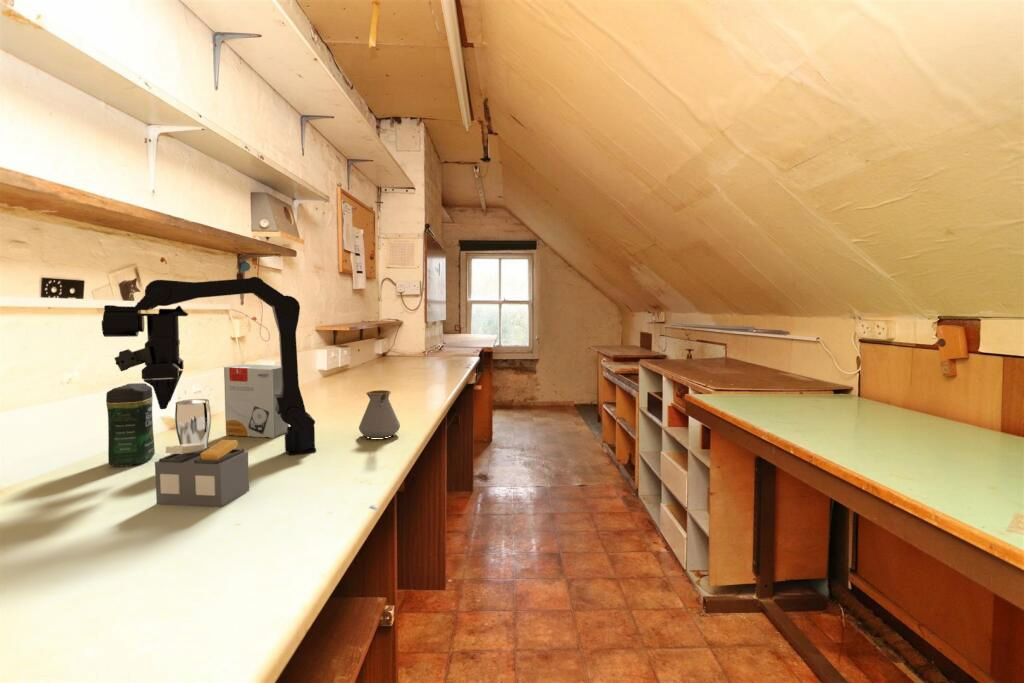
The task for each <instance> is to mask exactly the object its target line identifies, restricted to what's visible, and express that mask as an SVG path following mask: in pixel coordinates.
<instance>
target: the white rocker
mask: <svg viewBox="0 0 1024 683" xmlns="http://www.w3.org/2000/svg"><path fill="white" fill-rule="evenodd" d="M204 449H205V444H183V445H180V444H177V445H171V446H170V445H169V446H165V454H170V455H172V454H184V453H190V452H196V451H202V450H204Z"/></svg>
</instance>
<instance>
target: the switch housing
mask: <svg viewBox="0 0 1024 683" xmlns="http://www.w3.org/2000/svg"><path fill="white" fill-rule="evenodd" d="M209 448H210V447H209ZM209 448H205V449H204V450H202V451H196V452H190V453H184V454H170V455H167V456H164V457H162V458H158V459H159V460H157V461H154V473H155V474H154V475H155V494H156V498H155V499H156V504H157V505H171V506H172V505H175V506H197V507H198V506H199V507H215V506H217V508H223V507H224V506H226V505H227V504H229V503H230V502H232V501H234V500H236V499H238V498H239V497H241V496H242V494H243V495H244V494H246V493H247V491H248V492H249V491H250V480H249V478H250V475H249V474H250V473H249V451H245V449H243V448H242V449H239V448H238V449H237V448H234V449H233V450H231V451H230V452H229V453H227V454H226V455H224V456H223V457H221V458H220V459H219V460H201V453H202V452H204V451H205V450H207V449H209ZM222 506H223V507H222Z"/></svg>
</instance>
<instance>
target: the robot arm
mask: <svg viewBox="0 0 1024 683" xmlns="http://www.w3.org/2000/svg"><path fill="white" fill-rule="evenodd" d="M246 294H247V295H248V294H249V295H250V294H252V295H254V296H256V297H257V298H258V299H260V300H261V301H262V302H263V303H265V304H267V305H268V306H269V307H271V309H272V310H271V311H272V314H273V318H274V321H275V324H276V328H277V332H278V340H279V357H280V358H279V359H280V366H281V377H282V389H281V394H275V399H276V408H275V410H276V412H277V414H279V415H280V416H281V418H282V420H283V421H284V422H285V423H287V424H289V427H287V433H285V434H284V450H285V451H286V452H287V455H289V456H291V455H300V454H307V453H314V452H317V448H316V444H315V443H316V437H315V436H316V435H315V434H316V433H315V424H316V421H315V419H314V418H313V417H312V416H311V414H310V413H308V412H307V410H306V407H305V403H304V399H303V396H302V393H301V390H300V384H299V366H298V351H297V347H298V346H297V334H296V333H297V328H298V324H299V317H300V313H301V312H300V311H301V306H300V302H299V300H297V298H295V297H293V296H291V295H284V294H283V293H281V292H279V291H278V290H277V289H276V288H274V287H272V286H270V285H269V284H268V283H267V282H265V281H264V280H263V279H262V278H260V277H258V276H251V277H247V278H235V279H234V278H233V279H222V280H221V279H220V280H210V281H208V280H207V281H197V282H196V281H194V282H193V281H181V280H180V281H179V280H170V279H169V280H168V279H156V280H152V281H150V282H149V283H148V284H147V285H146V286H145V289H144V296H143V297H142V298H141V299H140V300H139V301H137V302H136V304H135V306H121V305H118V306H117V305H113V304H111V305H110V304H109V305H107V304H105V305H104V306H103V308H104V310H103V316H102V320H101V331H102V335H103V337H104V338H114V337H115V338H121V337H122V338H125V337H126V338H129V337H131V338H133V337H139V333H144V332H145V317H146V323H147V324H146V325H147V326H146V327H147V328H146V331H147V332H146V333H147V341H146V342H145V343H144V348H140V349H137V350H133V351H132V350H130V349H129V348H127V349H125V350H121V351H119V352H118V355H117V356H115V357H114V361H115V365H117V366H118V369H119V371H120V372H123V371H124V372H125V371H127V370H129V369H130V368H133V367H137V366H140V365H142V364H144V366H145V367H144V368H142V369H141V379H142V380H143V382H144V383H146V384H147V385H148V384H149V386H150V387H152V389H153V390H154V394H155V397H156V399H157V403H158V407H159V410H166V409H167V408H168V405H169V403H170V402H171V400H172V398H173V396H174V394H175V391H176V389H177V386H178V384H179V381H180V378H181V376H182V374H183V371H184V366H185V365H184V360H183V359H182V358H181V357H180V344H181V341H180V333H179V332H180V330H179V317H188V316H189V313H188V312H187V311H185V310H184V309H183V308H182V306H181V305H177V306H176V308H159V309H158V313H147V312H146V313H143V312H142V311H151V310H154V309H155V308H157V307H167V306H171V305H176V304H180V303H184V302H188V301H192V300H196V299H203V298H215V297H224V296H225V297H227V296H235V295H246Z"/></svg>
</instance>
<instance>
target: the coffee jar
mask: <svg viewBox="0 0 1024 683" xmlns="http://www.w3.org/2000/svg"><path fill="white" fill-rule="evenodd" d="M105 396H106V398H105V399H106V400H105V401H106V402H105V403H106V409H107V424H108V426H107V428H108V429H107V431H108V432H107V433H108V439H107V440H108V446H107V448H108V450H107V451H108V453H107V454H108V455H107V457H108V465H110V466H115V467H130V466H132V465H136V464H137V465H138V464H142V463H143V464H144V463H145V462H147V461H149V460H150V459H151V458H153V457H154V456H155V453H156V452H155V450H156V449H155V439H154V423H153V422H154V421H153V387H152V386H151V385H148V383H146V382H144V383H143V382H142V383H141V382H140V383H138V382H137V383H136V382H135V383H127V384H125V385H120V386H118V387H114V388H112V389H111V390H108V391H107V392H106V395H105Z"/></svg>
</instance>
